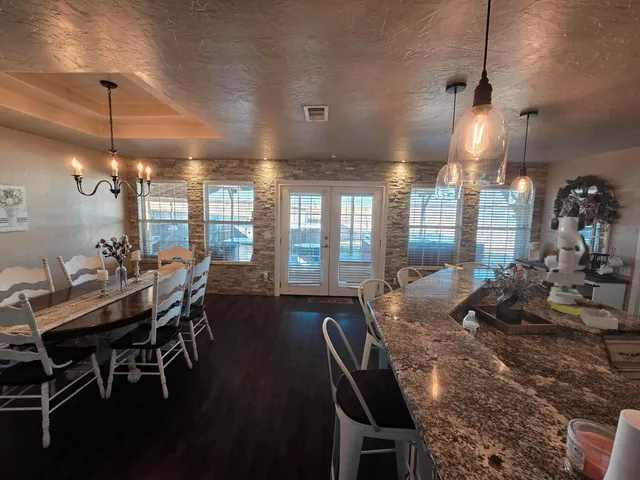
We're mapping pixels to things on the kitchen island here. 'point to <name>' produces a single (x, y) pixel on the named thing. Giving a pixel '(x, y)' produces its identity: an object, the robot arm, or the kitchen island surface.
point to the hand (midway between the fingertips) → (564, 289)
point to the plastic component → (565, 308)
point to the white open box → (598, 319)
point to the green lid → (566, 292)
